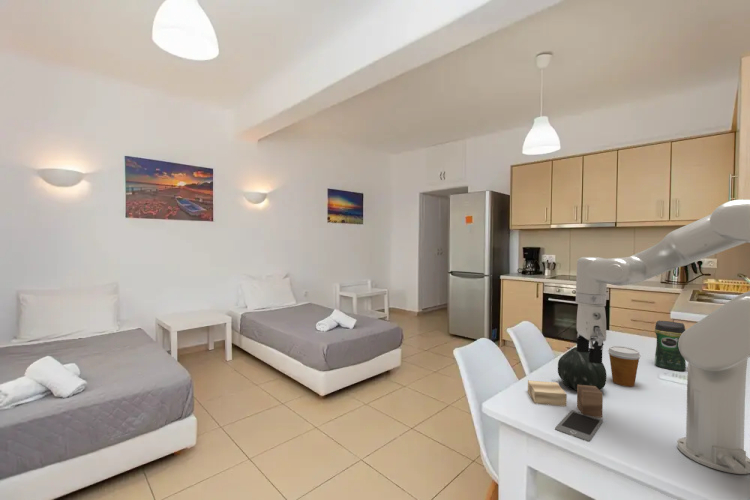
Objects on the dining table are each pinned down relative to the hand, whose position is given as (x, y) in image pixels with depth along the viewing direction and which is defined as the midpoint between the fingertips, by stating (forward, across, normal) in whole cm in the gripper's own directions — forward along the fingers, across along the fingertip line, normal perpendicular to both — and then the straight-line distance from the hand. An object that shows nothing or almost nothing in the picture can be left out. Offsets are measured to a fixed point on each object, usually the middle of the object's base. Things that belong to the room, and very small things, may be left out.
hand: (588, 357), depth 101 cm
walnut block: (+16, 0, 0) cm, 16 cm away
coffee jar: (+16, +50, -46) cm, 70 cm away
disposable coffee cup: (+16, +26, -20) cm, 37 cm away
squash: (+16, +18, -4) cm, 25 cm away
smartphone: (+17, -9, +5) cm, 20 cm away
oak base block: (+17, +6, +10) cm, 20 cm away
